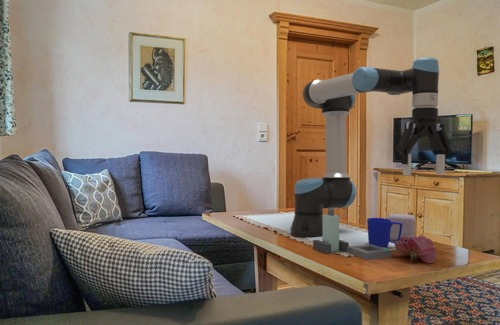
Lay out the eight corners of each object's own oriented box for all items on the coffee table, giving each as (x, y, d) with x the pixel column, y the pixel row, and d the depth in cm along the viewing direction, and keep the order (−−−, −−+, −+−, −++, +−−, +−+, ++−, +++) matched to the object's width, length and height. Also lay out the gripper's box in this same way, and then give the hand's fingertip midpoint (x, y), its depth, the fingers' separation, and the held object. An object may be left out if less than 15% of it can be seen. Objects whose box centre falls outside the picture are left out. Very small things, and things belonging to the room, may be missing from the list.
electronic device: (386, 240, 153) (386, 215, 153) (388, 238, 158) (388, 213, 157) (413, 243, 149) (414, 216, 149) (414, 240, 153) (415, 215, 153)
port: (346, 254, 131) (346, 245, 131) (370, 251, 136) (370, 242, 136) (367, 261, 122) (367, 252, 122) (391, 258, 126) (391, 249, 126)
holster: (313, 250, 137) (313, 240, 137) (334, 248, 140) (334, 238, 140) (326, 255, 129) (326, 245, 129) (348, 253, 133) (348, 242, 133)
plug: (322, 249, 136) (322, 207, 136) (331, 248, 137) (332, 207, 137) (329, 251, 132) (329, 209, 132) (338, 250, 134) (339, 208, 134)
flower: (404, 265, 130) (420, 240, 131) (427, 277, 121) (444, 249, 122) (382, 248, 126) (399, 222, 127) (404, 258, 117) (421, 230, 118)
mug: (403, 250, 137) (404, 222, 137) (367, 248, 139) (368, 220, 139) (399, 245, 145) (400, 218, 145) (365, 243, 147) (366, 217, 147)
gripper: (401, 104, 116) (400, 176, 117) (464, 108, 125) (463, 174, 126) (384, 107, 123) (383, 174, 124) (445, 110, 132) (444, 173, 133)
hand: (423, 174), depth 125 cm, fingers open, 13 cm apart
